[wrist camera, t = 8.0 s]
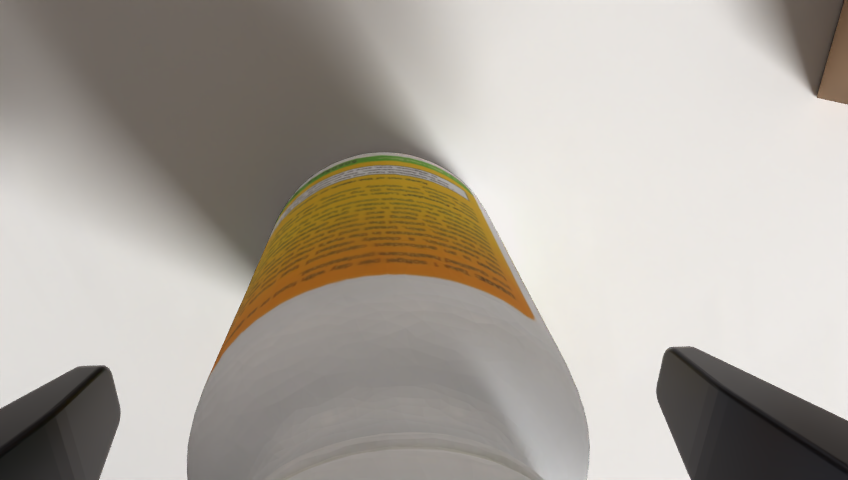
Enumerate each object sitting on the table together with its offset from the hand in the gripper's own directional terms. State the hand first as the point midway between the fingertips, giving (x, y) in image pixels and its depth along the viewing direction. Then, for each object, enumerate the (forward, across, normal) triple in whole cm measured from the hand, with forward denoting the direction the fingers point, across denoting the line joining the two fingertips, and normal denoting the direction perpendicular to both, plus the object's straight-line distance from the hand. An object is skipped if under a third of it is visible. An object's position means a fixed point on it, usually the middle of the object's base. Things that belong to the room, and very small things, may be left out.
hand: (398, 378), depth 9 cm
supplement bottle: (+5, 0, 0) cm, 5 cm away
